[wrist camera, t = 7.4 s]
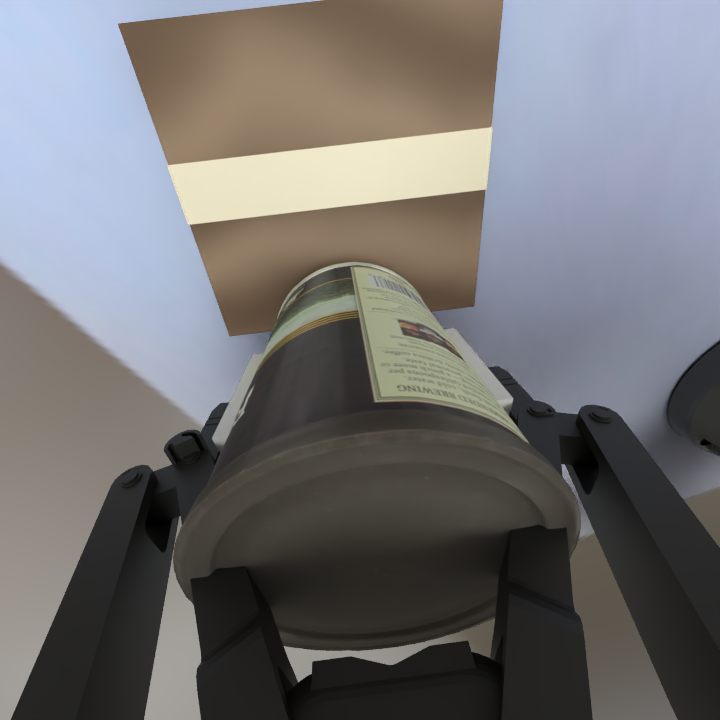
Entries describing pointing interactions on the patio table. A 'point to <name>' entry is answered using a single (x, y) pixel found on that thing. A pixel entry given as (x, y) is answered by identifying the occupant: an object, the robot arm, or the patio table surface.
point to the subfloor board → (324, 132)
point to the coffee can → (369, 474)
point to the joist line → (333, 176)
